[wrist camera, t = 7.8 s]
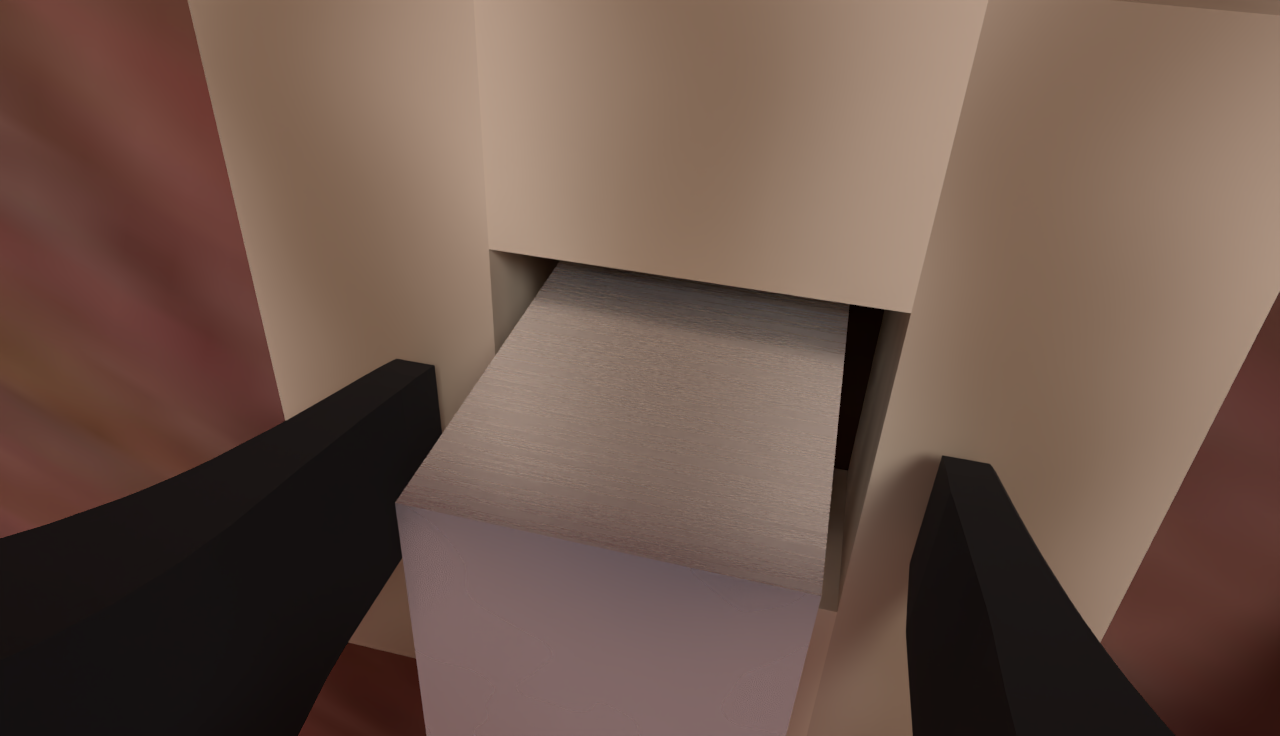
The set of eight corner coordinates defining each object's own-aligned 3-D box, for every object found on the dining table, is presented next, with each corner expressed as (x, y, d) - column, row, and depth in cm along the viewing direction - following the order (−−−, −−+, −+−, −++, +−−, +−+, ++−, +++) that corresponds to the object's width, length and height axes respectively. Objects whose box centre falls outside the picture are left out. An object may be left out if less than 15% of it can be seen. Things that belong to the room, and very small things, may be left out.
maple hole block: (1284, -41, 11) (1414, 27, 8) (1000, 642, 18) (1019, 802, 16) (323, -119, 13) (168, -86, 10) (413, 519, 21) (336, 639, 18)
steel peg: (857, 218, 14) (821, 595, 8) (815, 416, 17) (760, 836, 10) (614, 181, 15) (394, 502, 8) (605, 377, 17) (428, 748, 11)
